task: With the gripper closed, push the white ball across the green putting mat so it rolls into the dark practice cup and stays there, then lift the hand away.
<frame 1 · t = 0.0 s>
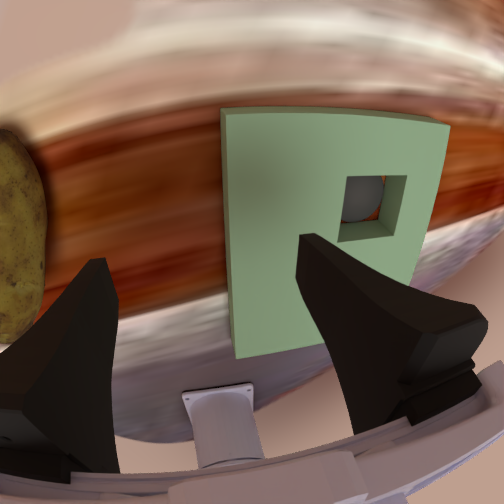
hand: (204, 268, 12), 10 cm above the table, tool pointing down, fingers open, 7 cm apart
putting mat: (327, 235, 25), on the table
potato: (17, 212, 18), on the table
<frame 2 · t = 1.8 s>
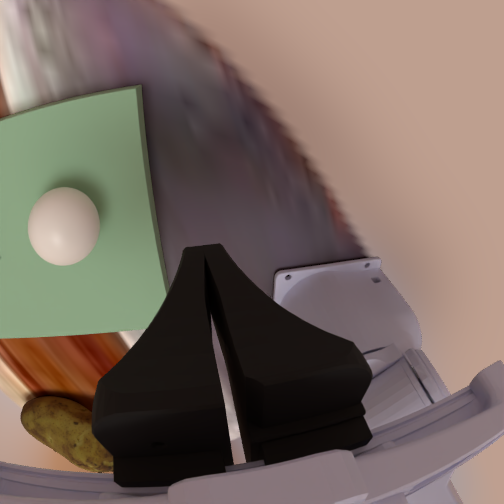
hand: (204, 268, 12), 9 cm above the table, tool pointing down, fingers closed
putting mat: (22, 230, 18), on the table
ball: (63, 226, 14), point 4 cm above the table, touching putting mat
potato: (73, 404, 31), on the table
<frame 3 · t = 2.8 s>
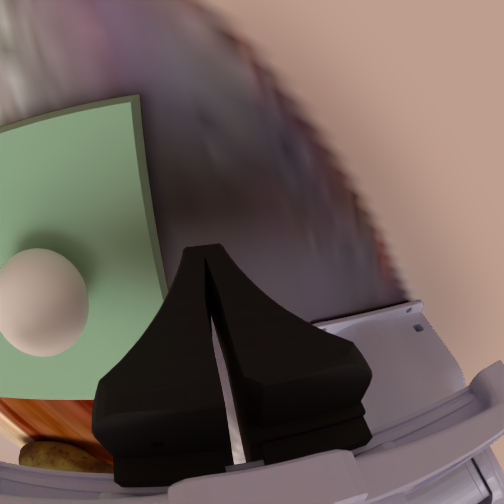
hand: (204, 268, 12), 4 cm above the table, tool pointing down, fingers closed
ball: (39, 302, 10), point 4 cm above the table, touching putting mat
potato: (75, 447, 26), on the table
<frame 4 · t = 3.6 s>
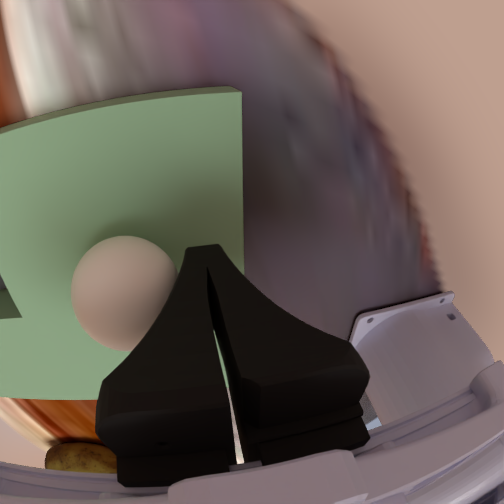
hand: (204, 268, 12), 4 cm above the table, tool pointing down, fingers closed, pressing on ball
putting mat: (47, 276, 14), on the table
ball: (126, 293, 11), point 4 cm above the table, touching gripper, putting mat
potato: (104, 448, 27), on the table
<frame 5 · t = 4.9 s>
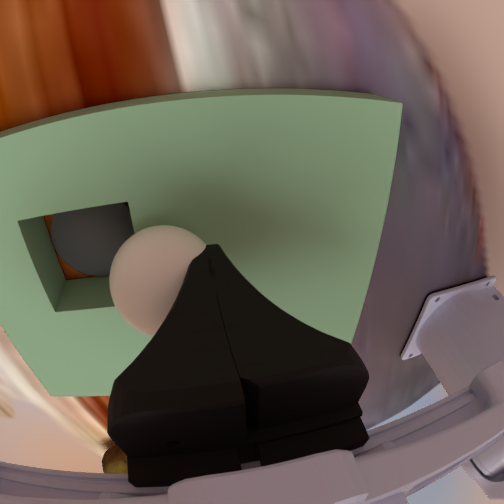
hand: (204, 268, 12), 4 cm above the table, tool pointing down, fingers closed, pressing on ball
putting mat: (170, 259, 16), on the table
ball: (164, 281, 11), point 4 cm above the table, tilted 158°, touching gripper, putting mat
potato: (165, 444, 28), on the table
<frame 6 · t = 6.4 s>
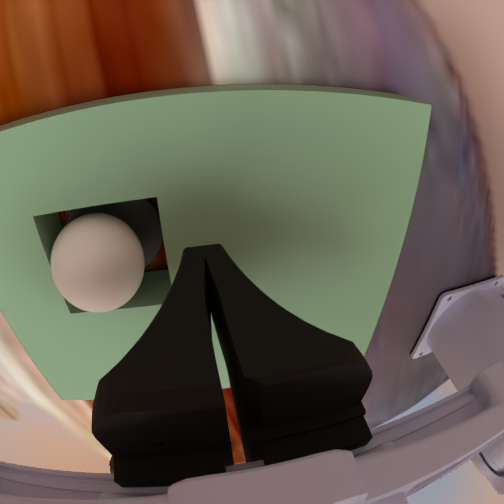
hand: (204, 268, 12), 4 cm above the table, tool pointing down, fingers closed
putting mat: (192, 257, 16), on the table
ball: (97, 262, 12), point 2 cm above the table, tilted 96°, touching putting mat
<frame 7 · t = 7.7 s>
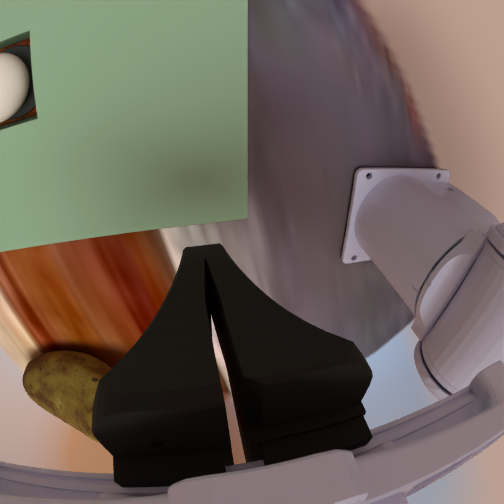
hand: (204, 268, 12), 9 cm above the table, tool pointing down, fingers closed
putting mat: (67, 98, 15), on the table
potato: (90, 363, 27), on the table
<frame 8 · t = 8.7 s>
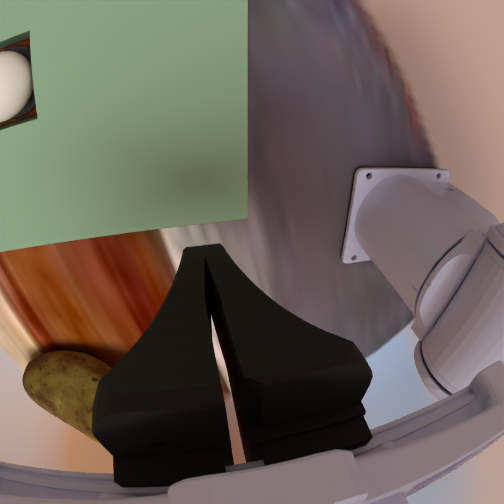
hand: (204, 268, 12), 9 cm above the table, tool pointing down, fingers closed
putting mat: (67, 98, 15), on the table
ball: (1, 86, 11), point 2 cm above the table, tilted 117°, touching putting mat
potato: (90, 363, 27), on the table
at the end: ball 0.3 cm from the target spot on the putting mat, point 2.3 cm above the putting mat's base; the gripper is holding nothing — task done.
